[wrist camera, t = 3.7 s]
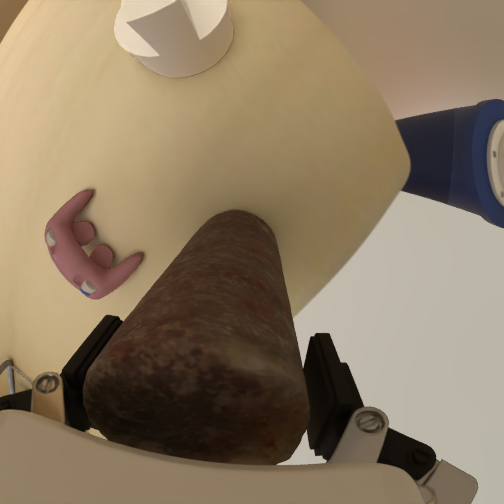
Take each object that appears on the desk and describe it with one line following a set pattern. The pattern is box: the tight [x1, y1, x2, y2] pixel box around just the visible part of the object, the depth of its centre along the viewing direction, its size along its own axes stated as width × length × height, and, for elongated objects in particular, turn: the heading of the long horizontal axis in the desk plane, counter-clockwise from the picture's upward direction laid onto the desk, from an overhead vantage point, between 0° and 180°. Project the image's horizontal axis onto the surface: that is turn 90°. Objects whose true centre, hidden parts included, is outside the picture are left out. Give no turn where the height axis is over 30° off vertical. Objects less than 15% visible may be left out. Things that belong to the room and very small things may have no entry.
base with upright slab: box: [114, 0, 233, 78], centre depth 13 cm, size 9×9×12 cm
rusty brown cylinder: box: [83, 210, 310, 465], centre depth 16 cm, size 8×7×20 cm
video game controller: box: [45, 189, 142, 299], centre depth 23 cm, size 10×5×7 cm, turn 38°
